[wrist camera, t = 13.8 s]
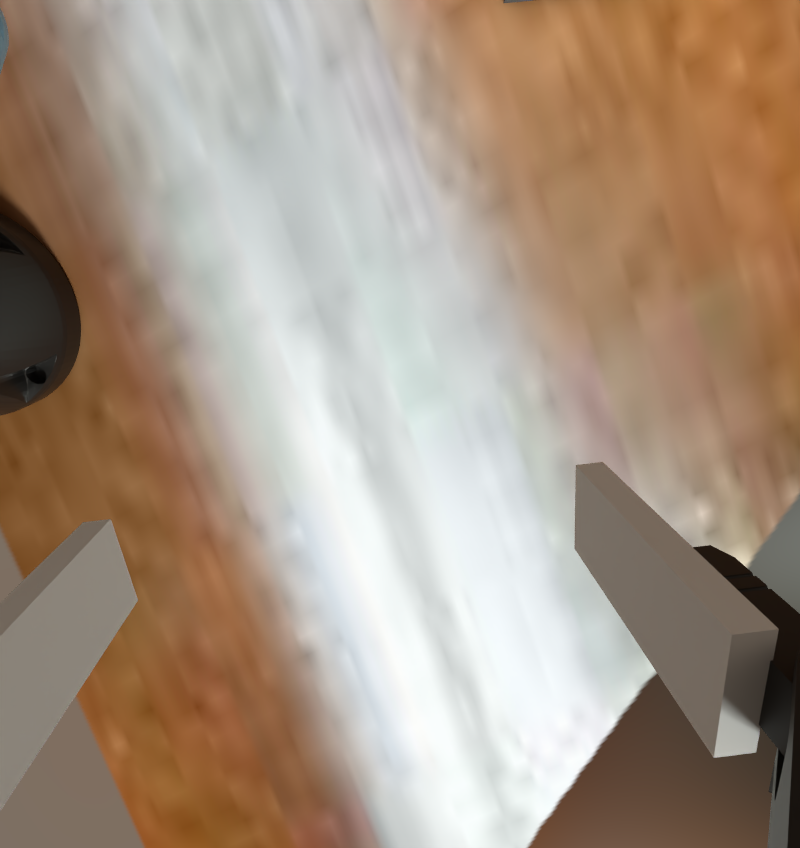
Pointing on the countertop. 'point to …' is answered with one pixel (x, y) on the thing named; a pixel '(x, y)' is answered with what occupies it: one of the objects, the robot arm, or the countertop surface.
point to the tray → (508, 0)
